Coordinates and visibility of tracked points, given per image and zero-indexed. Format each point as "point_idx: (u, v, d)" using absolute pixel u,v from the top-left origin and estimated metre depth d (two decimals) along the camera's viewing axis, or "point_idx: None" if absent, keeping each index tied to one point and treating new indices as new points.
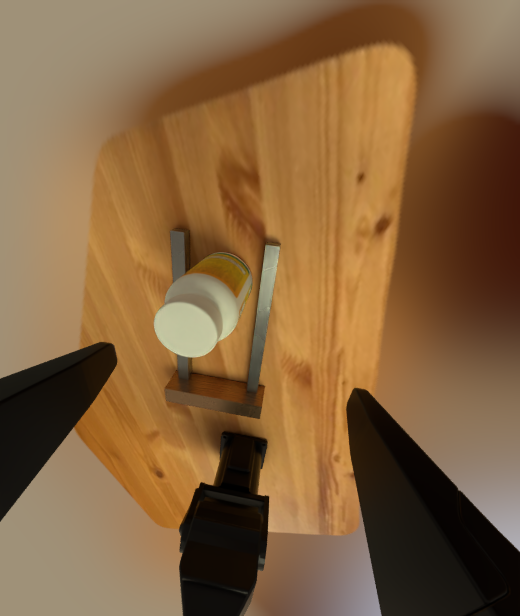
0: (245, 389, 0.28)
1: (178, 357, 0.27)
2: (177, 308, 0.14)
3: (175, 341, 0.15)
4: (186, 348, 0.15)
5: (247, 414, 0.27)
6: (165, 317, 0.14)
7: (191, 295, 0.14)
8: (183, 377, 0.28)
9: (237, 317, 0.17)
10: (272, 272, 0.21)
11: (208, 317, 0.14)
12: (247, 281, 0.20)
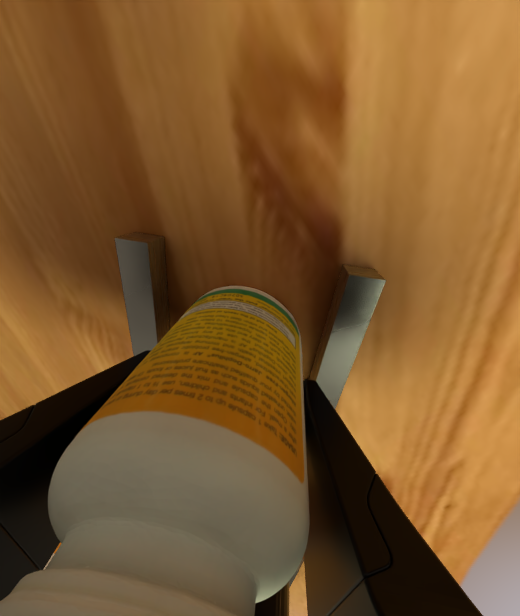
0: None
1: None
2: None
3: None
4: None
5: None
6: None
7: None
8: None
9: None
10: (355, 336, 0.09)
11: None
12: (300, 361, 0.08)
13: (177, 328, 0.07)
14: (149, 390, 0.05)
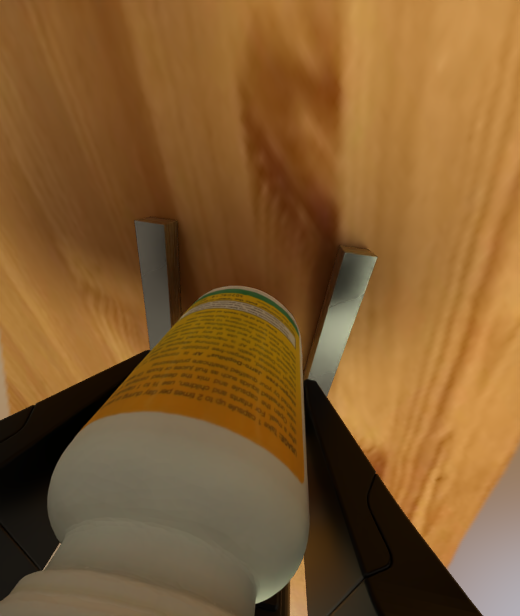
0: None
1: None
2: None
3: None
4: None
5: None
6: None
7: None
8: None
9: None
10: (350, 310, 0.10)
11: None
12: (300, 361, 0.08)
13: (177, 328, 0.07)
14: (149, 390, 0.05)
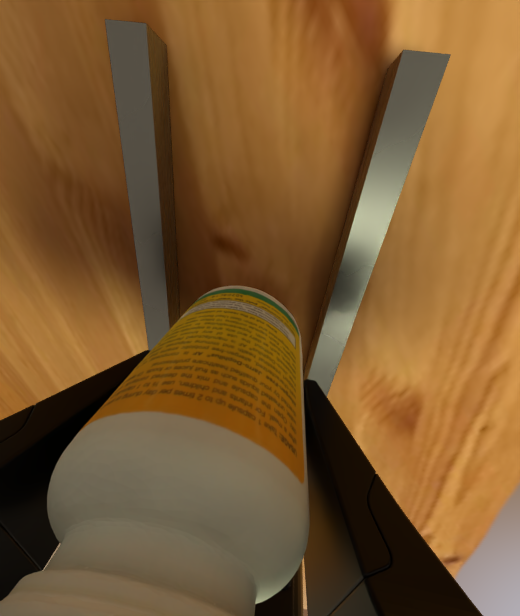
0: None
1: None
2: None
3: None
4: None
5: None
6: None
7: None
8: None
9: None
10: (403, 158, 0.07)
11: None
12: (300, 361, 0.08)
13: (177, 328, 0.07)
14: (149, 390, 0.05)
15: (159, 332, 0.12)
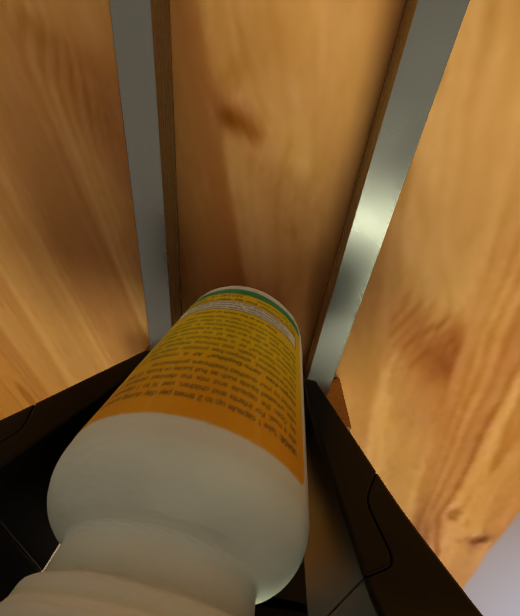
0: None
1: (148, 308, 0.11)
2: None
3: None
4: None
5: None
6: None
7: None
8: None
9: None
10: None
11: None
12: (300, 362, 0.08)
13: (177, 328, 0.07)
14: (148, 391, 0.05)
15: (153, 240, 0.10)
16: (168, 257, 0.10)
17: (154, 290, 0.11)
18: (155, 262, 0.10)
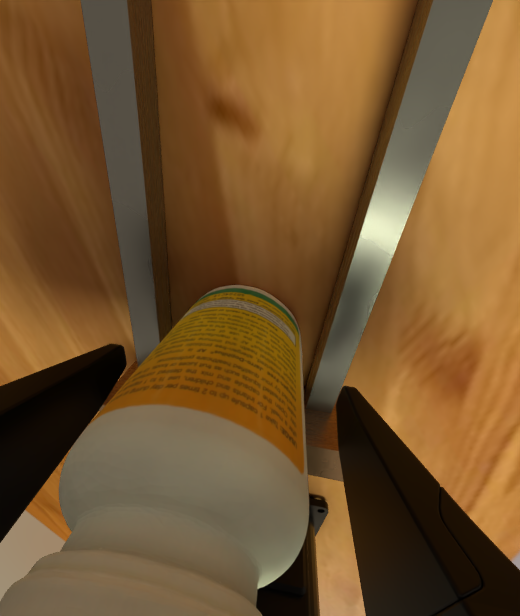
0: None
1: (133, 322, 0.10)
2: None
3: None
4: None
5: (312, 469, 0.10)
6: None
7: (118, 609, 0.03)
8: None
9: None
10: None
11: None
12: (300, 359, 0.09)
13: (180, 326, 0.07)
14: (155, 385, 0.05)
15: (136, 247, 0.09)
16: (154, 266, 0.09)
17: (139, 302, 0.10)
18: (139, 271, 0.09)
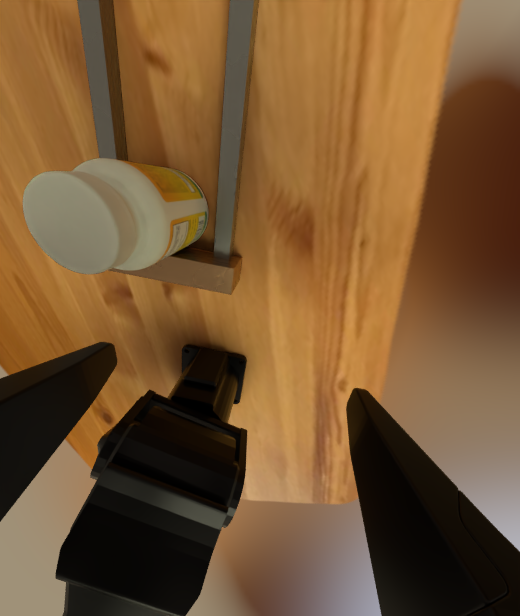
0: (212, 255, 0.18)
1: None
2: (51, 183, 0.09)
3: (60, 246, 0.10)
4: (78, 258, 0.10)
5: (211, 285, 0.17)
6: (36, 200, 0.09)
7: (80, 172, 0.09)
8: None
9: (166, 229, 0.12)
10: None
11: (100, 199, 0.09)
12: (196, 202, 0.15)
13: None
14: None
15: (106, 136, 0.15)
16: (116, 150, 0.16)
17: None
18: (108, 153, 0.16)
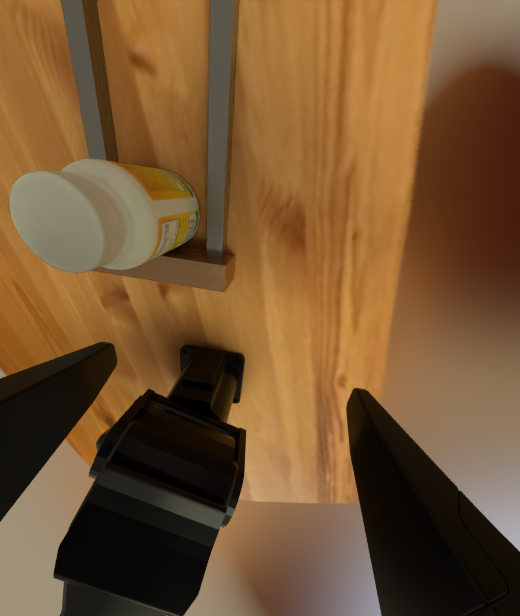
0: (205, 254, 0.18)
1: None
2: (35, 183, 0.09)
3: (48, 245, 0.10)
4: (65, 257, 0.10)
5: (205, 283, 0.17)
6: (22, 201, 0.09)
7: (65, 171, 0.10)
8: None
9: (154, 227, 0.12)
10: None
11: (84, 197, 0.09)
12: (186, 201, 0.15)
13: None
14: None
15: (95, 140, 0.16)
16: (106, 153, 0.16)
17: None
18: (98, 156, 0.16)
